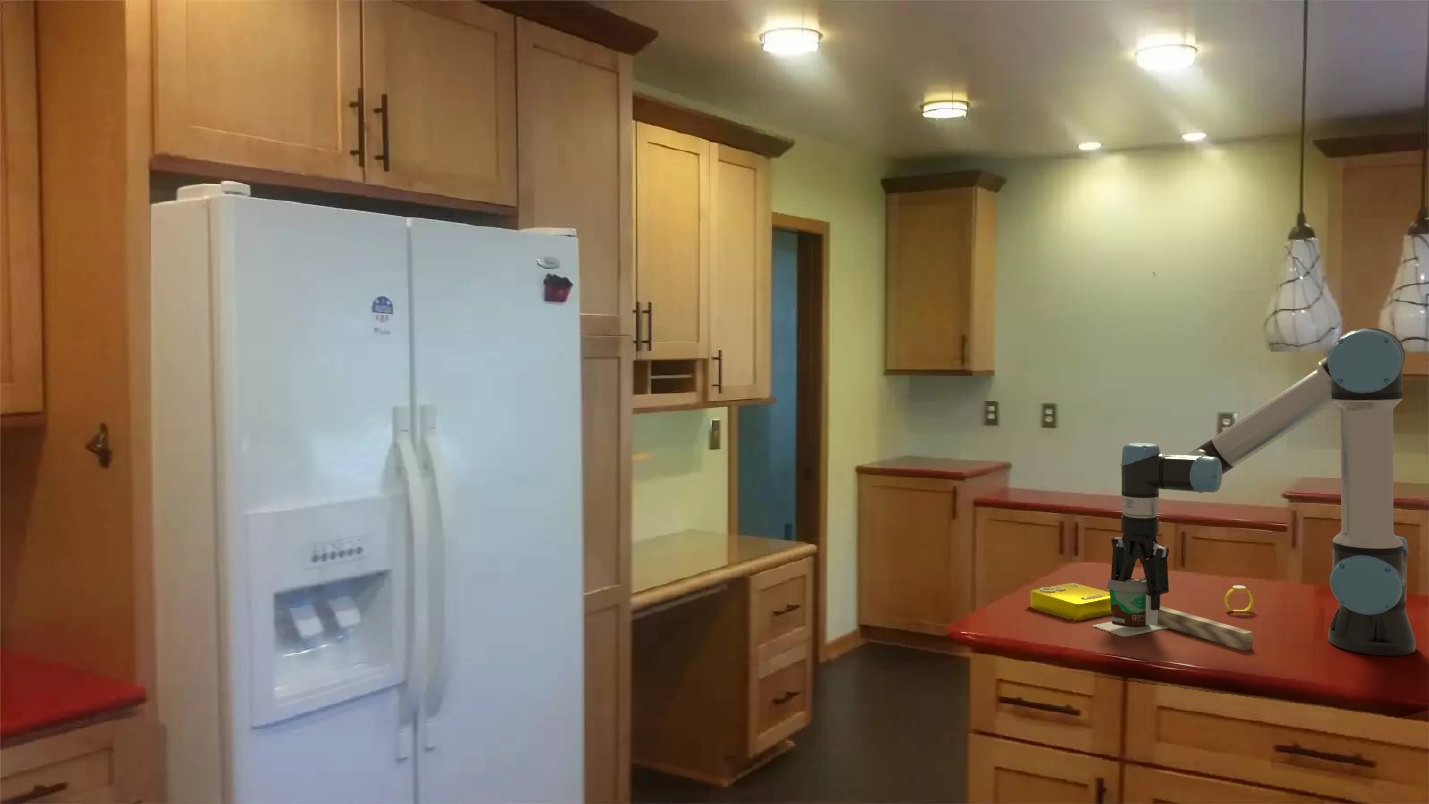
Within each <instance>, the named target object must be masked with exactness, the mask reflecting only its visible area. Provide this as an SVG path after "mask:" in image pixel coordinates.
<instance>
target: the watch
mask: <svg viewBox="0 0 1429 804" xmlns="http://www.w3.org/2000/svg"><path fill="white" fill-rule="evenodd" d="M1234 592H1246V593H1247V595H1249V603H1248V606H1247V607H1245V608H1244V609H1233V608H1231V606H1230V604H1229V599H1230V596H1231V595H1232V594H1233V593H1234ZM1254 603H1255V598H1254V596H1253V594H1252V592H1251V591H1250V590H1248V589H1247V587H1246V586H1244V585H1240V584H1239V585H1238V584H1237V585H1233V586H1232V588H1230V589H1228V591H1227V592H1226V594H1225V596H1224V604H1225V606H1226V608H1227V609H1228V610H1230V611H1231V612H1232V611H1248V612H1250V611H1251V610H1252V608H1254V607H1253V606H1254Z"/></svg>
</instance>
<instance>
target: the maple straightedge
mask: <svg viewBox="0 0 1429 804" xmlns="http://www.w3.org/2000/svg"><path fill="white" fill-rule="evenodd" d="M1158 624H1159V625H1163V626H1166V627H1168V628H1167V629H1170V630H1173V631H1176V632H1178V633H1181V634H1186V635H1189V636H1192V637H1194V638H1199V639H1202V640H1205V641H1209V642H1211V643H1215V644H1218V645H1221V646H1224V647H1225V646H1228V647H1231V648H1234V649H1237V650H1241V651H1243V652H1244V651H1248V650H1252V649H1253V645H1254V644H1253V640H1254V639H1253V638H1254V637H1253V635H1254V632H1253V631H1251V630H1248V629H1244V628H1241V627H1236V626H1233V625H1231V624H1230V625H1229V624H1226V623H1222V622H1220V621H1216V620H1212V619H1209V618H1205V617H1203V616H1202V617H1201V616H1198V615H1194V614H1190V613H1187V612H1183V611H1180V610H1176V609H1172V608H1169V607H1167V606H1162V605H1160V609H1159V610H1158Z"/></svg>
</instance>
